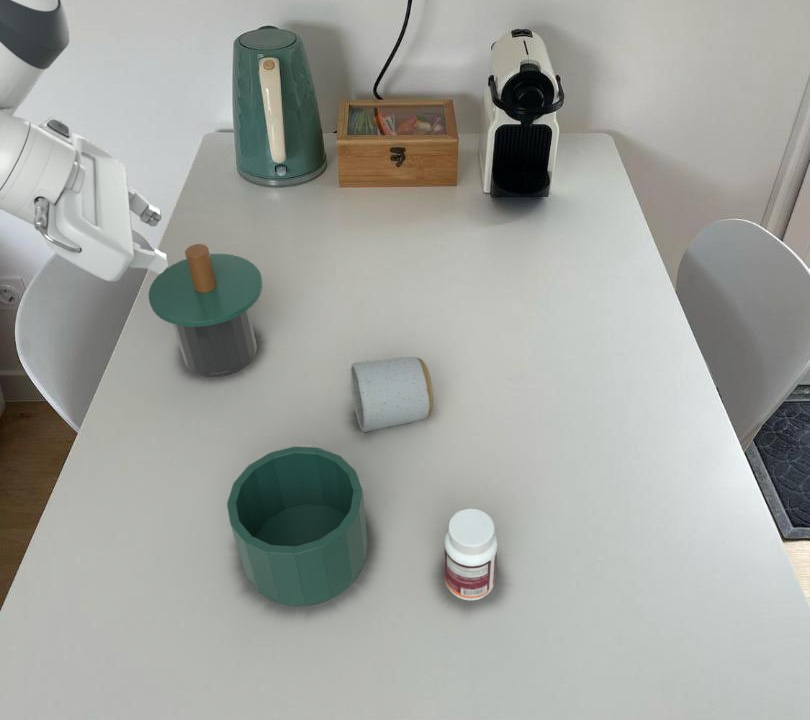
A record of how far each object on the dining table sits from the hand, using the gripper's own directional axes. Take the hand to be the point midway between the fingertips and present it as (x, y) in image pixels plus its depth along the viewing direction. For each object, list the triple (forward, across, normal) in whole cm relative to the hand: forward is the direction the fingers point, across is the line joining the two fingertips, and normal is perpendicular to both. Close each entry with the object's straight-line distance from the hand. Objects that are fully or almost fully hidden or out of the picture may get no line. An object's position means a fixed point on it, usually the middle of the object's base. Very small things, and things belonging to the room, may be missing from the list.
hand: (161, 241), depth 88 cm
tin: (+18, -32, +7) cm, 37 cm away
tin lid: (+8, 0, +3) cm, 9 cm away
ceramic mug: (+27, -16, -2) cm, 31 cm away
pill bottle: (+28, -40, -2) cm, 48 cm away
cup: (+15, 0, +10) cm, 18 cm away
